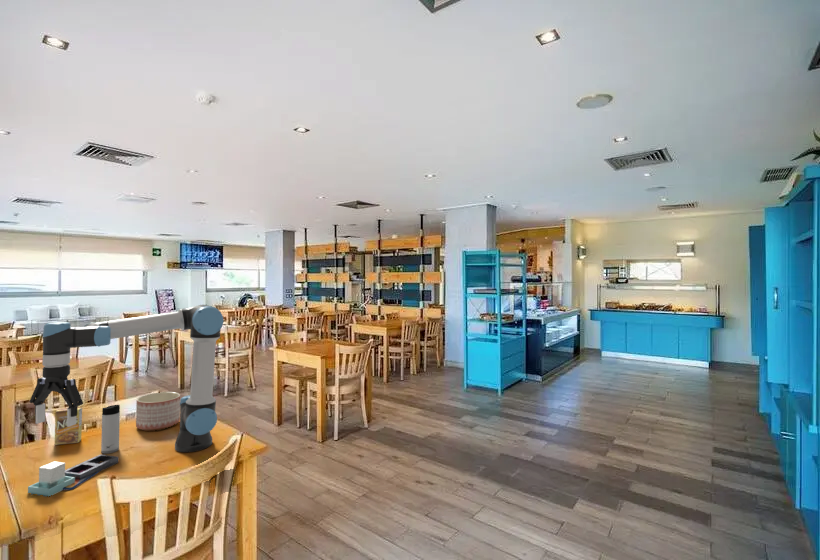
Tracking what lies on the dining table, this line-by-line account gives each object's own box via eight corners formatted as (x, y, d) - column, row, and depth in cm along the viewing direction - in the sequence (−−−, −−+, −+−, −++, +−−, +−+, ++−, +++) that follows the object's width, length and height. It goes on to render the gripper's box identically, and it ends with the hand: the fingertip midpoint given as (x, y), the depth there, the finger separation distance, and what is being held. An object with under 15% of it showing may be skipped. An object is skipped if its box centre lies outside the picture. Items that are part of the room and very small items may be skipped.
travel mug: (110, 454, 174) (111, 408, 174) (97, 453, 176) (98, 406, 176) (123, 448, 180) (124, 403, 180) (110, 447, 182) (111, 402, 182)
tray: (74, 484, 149) (74, 477, 149) (48, 496, 141) (49, 489, 141) (54, 481, 151) (54, 474, 151) (27, 493, 142) (28, 486, 142)
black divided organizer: (118, 462, 167) (118, 456, 167) (80, 481, 151) (80, 474, 151) (100, 460, 169) (100, 454, 169) (60, 478, 153) (60, 472, 153)
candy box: (54, 445, 182) (54, 411, 182) (58, 442, 186) (58, 408, 186) (78, 442, 186) (79, 409, 186) (81, 439, 190) (82, 406, 190)
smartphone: (101, 471, 160) (101, 469, 160) (71, 490, 145) (71, 487, 145) (82, 471, 160) (82, 469, 160) (50, 491, 145) (50, 487, 145)
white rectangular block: (64, 484, 148) (65, 462, 148) (50, 491, 143) (50, 469, 143) (53, 483, 149) (53, 461, 149) (38, 490, 144) (39, 467, 144)
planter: (147, 435, 196) (147, 404, 196) (128, 427, 206) (129, 397, 207) (187, 424, 212) (187, 395, 212) (168, 416, 223) (168, 389, 223)
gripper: (95, 364, 148) (94, 422, 148) (39, 361, 153) (38, 417, 153) (75, 369, 141) (74, 430, 141) (16, 365, 145) (16, 424, 145)
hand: (55, 424), depth 147 cm, fingers open, 13 cm apart
